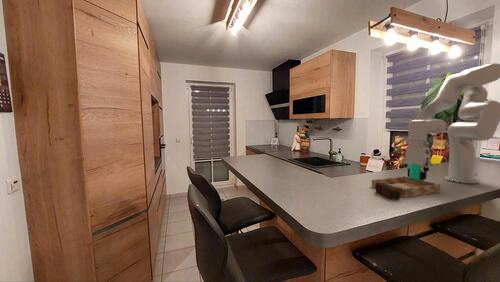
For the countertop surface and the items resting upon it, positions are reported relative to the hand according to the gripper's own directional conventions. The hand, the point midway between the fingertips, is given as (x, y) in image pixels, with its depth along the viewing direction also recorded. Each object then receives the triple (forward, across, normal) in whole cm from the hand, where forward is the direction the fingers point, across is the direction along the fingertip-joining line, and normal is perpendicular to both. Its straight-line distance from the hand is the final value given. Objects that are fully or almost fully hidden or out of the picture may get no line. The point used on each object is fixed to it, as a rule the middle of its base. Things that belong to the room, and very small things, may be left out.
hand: (416, 177), depth 109 cm
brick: (+3, -9, +30) cm, 32 cm away
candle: (+3, 0, 0) cm, 3 cm away
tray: (+3, -5, +15) cm, 16 cm away
